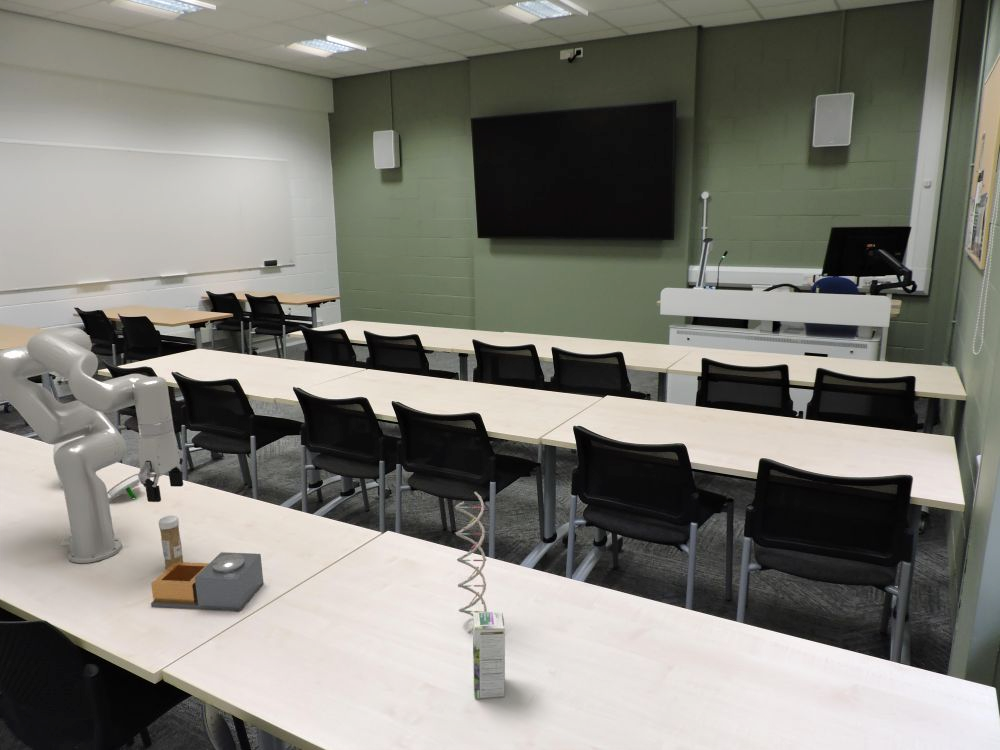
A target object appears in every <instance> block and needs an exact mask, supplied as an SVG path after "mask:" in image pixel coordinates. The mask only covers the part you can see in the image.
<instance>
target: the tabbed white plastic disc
mask: <svg viewBox="0 0 1000 750" xmlns="http://www.w3.org/2000/svg"><path fill="white" fill-rule="evenodd" d="M138 474H139V473H135V474H132V475H131V476H129V477H127V478H125V479H123V480H122V481H120V482H119V483H117V484H115V485H114V486H113V487H112V488H110V489H109V490H107V494H108V500H113V499H112V498H114V497H116V496H118V495H120V494H122V495H123V493H124V494H126V493H127V494H128V495H129V496H130V498H131V499H132V498H135V499H137V498H136V497H137V496H136V494H135V493H134V492H133V489H134V488H136V487H139V486H140V485H141V484H142V483H141V481H140V479H139V477H138ZM120 496H121V495H120ZM118 497H119V496H118ZM116 498H117V497H116ZM114 499H115V498H114Z"/></svg>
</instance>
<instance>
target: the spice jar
mask: <svg viewBox="0 0 1000 750" xmlns="http://www.w3.org/2000/svg"><path fill="white" fill-rule="evenodd" d="M179 525H180V521H179V517H178V515H166V516H164V517H161V518H159V520H158V528H159V530H160V536H161V538H160V540H161V547H162V553H163V558H164V565H165V567H164V569H165V570H167V569H168V568H169V567H170V566H171V565H172V564H173V563H175V562H184V558H183V557H184V556H183V547H182V540H181V539H182V538H181V535H180V527H179Z"/></svg>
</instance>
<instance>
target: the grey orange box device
mask: <svg viewBox="0 0 1000 750" xmlns="http://www.w3.org/2000/svg"><path fill="white" fill-rule="evenodd" d="M262 566H263V563H262V556H261V553H250V552H249V553H247V552H246V553H245V552H224V551H223V552H222V551H221V552H220V553H219V554H217V555H216V556H215V557H214V558H213V560H211V561H210V562H191V561H190V562H188V561H183V562H175V563H173V564H172V565H171V566H170V567H169V568H168V569H167V570H166V569H165V570H164V571H163V572H162V573H161V574H159V575H158V576H157V577H156V578H155V579H154V580H153V581H151V583H150V588H151V593H152V599H153V601H151V602H150V606H151V608H162V609H163V608H164V609H165V608H166V609H183V610H184V609H186V610H204V611H209V610H210V611H222V612H223V611H225V612H226V611H229V612H241V611H242V610H243V609H244V608H245V607H246V605H248V604H249V602H251V600H250V599H252V598H253V597H254V596H255V595H256V594H257V592H258V591H260V589H261V588H262V587H263V586H264V584H265V583H264V574H263V567H262ZM260 587H261V588H260ZM255 593H256V594H255ZM254 594H255V595H254Z"/></svg>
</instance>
